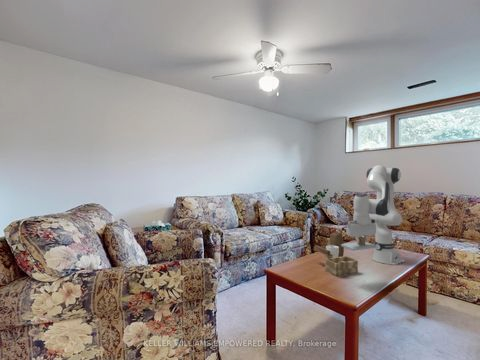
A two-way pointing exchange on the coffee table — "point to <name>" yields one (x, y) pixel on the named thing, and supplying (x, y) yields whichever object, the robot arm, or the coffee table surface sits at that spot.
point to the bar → (322, 250)
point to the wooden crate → (340, 265)
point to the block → (337, 242)
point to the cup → (333, 250)
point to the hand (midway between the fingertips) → (361, 242)
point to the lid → (359, 245)
